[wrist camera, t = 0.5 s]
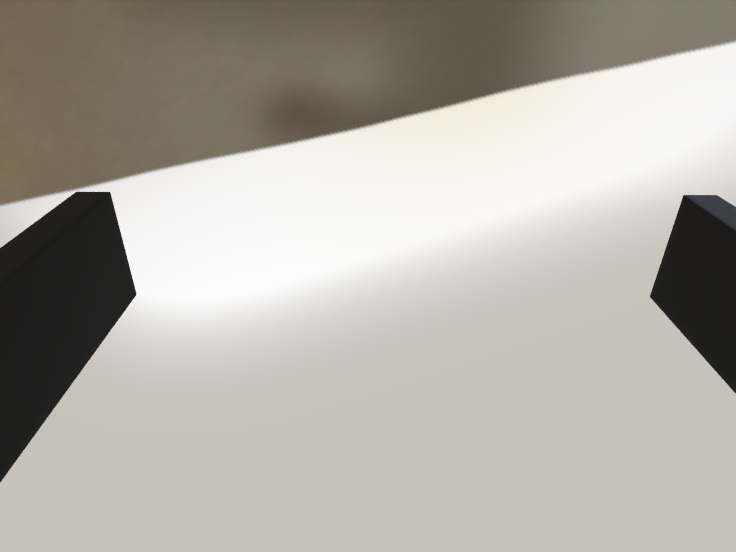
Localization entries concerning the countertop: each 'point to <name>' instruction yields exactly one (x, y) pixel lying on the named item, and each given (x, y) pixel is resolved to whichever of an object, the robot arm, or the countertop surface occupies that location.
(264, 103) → the countertop surface
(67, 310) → the robot arm
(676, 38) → the countertop surface
